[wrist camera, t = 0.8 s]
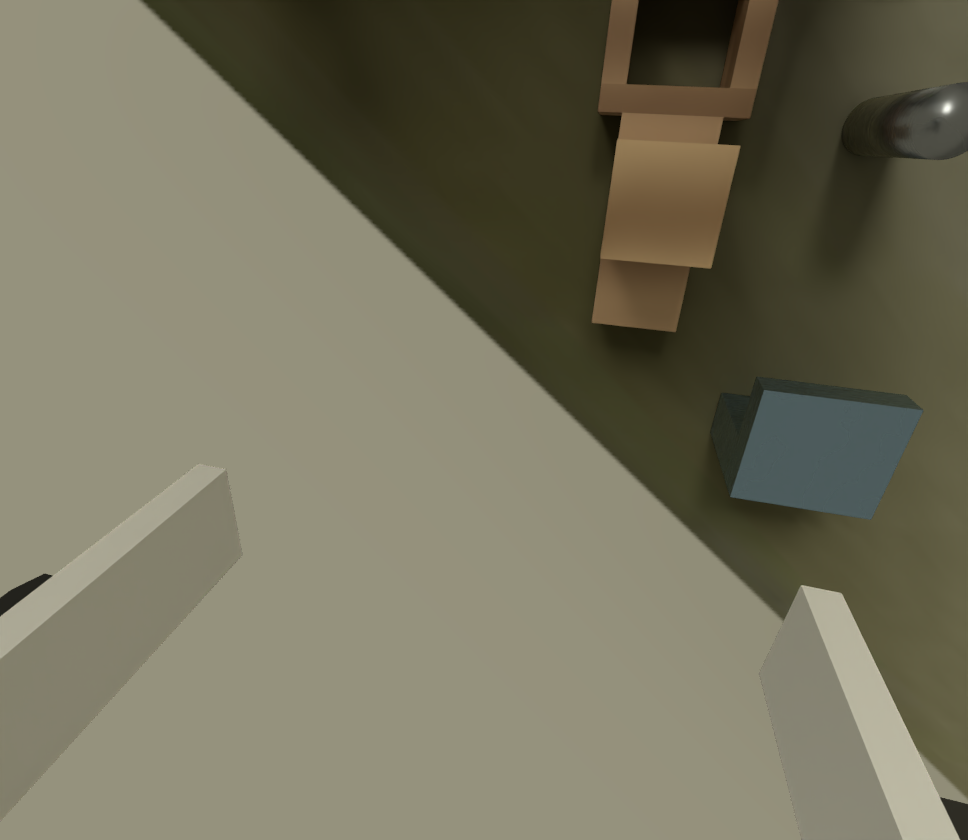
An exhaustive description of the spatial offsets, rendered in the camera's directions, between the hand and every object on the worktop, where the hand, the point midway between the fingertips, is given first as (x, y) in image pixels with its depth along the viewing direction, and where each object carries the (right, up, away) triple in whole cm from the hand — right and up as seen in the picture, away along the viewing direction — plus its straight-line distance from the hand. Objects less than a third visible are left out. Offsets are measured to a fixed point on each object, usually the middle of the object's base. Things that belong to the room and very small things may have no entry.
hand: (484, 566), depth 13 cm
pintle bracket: (+16, +10, +14) cm, 24 cm away
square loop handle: (+8, +16, +13) cm, 22 cm away
